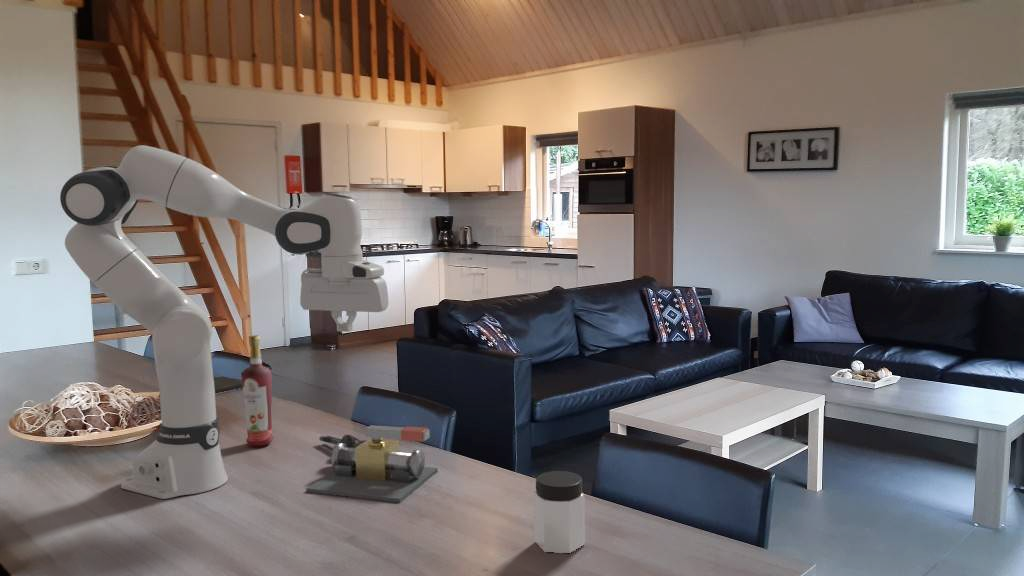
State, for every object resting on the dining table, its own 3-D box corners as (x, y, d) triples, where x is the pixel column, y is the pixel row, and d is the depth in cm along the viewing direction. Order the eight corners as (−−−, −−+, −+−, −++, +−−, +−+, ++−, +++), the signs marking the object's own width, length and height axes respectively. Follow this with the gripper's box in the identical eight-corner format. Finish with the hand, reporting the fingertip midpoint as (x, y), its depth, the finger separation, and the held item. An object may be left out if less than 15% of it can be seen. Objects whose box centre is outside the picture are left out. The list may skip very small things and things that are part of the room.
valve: (412, 465, 184) (358, 467, 174) (356, 449, 203) (303, 450, 194) (415, 438, 185) (360, 438, 175) (358, 425, 204) (306, 424, 194)
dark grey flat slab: (160, 396, 252) (160, 390, 252) (223, 382, 271) (222, 376, 270) (189, 403, 243) (188, 396, 242) (251, 388, 261) (251, 381, 261)
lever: (365, 442, 170) (365, 427, 170) (371, 437, 173) (371, 424, 173) (424, 446, 166) (424, 431, 166) (430, 442, 169) (429, 427, 169)
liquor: (280, 440, 201) (274, 333, 198) (266, 449, 194) (260, 339, 191) (254, 439, 202) (248, 333, 199) (239, 448, 195) (233, 338, 192)
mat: (306, 491, 165) (306, 488, 164) (351, 462, 182) (351, 459, 182) (400, 502, 158) (400, 498, 158) (437, 471, 176) (437, 467, 176)
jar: (556, 529, 144) (555, 466, 142) (592, 541, 138) (592, 476, 137) (525, 546, 137) (524, 480, 135) (563, 559, 132) (562, 491, 130)
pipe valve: (330, 475, 172) (328, 443, 171) (346, 465, 178) (344, 433, 177) (412, 484, 165) (411, 450, 165) (426, 473, 172) (425, 440, 171)
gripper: (292, 268, 169) (295, 331, 171) (377, 270, 163) (379, 335, 164) (309, 266, 175) (311, 327, 177) (390, 267, 169) (392, 330, 170)
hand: (344, 331), depth 171 cm, fingers closed
